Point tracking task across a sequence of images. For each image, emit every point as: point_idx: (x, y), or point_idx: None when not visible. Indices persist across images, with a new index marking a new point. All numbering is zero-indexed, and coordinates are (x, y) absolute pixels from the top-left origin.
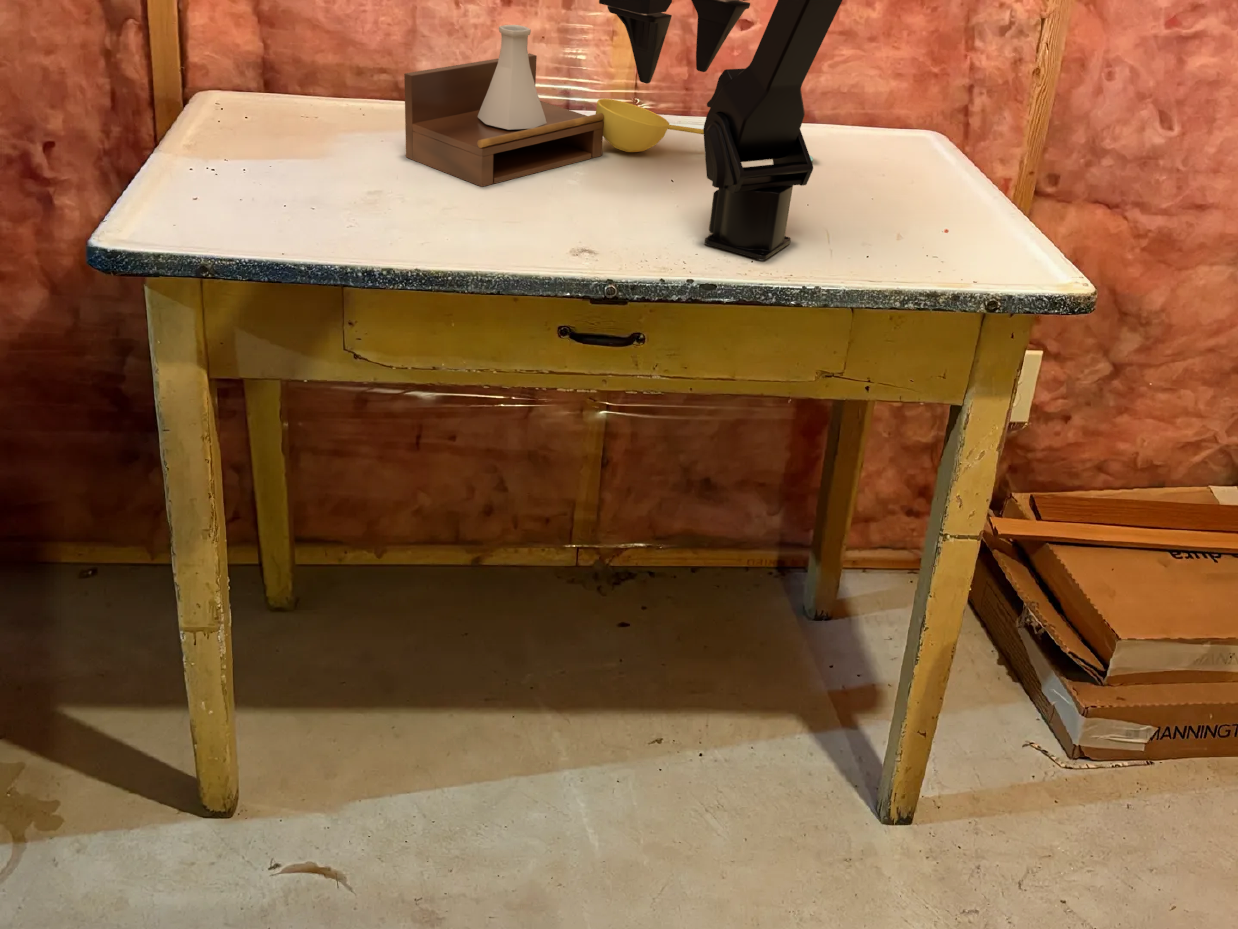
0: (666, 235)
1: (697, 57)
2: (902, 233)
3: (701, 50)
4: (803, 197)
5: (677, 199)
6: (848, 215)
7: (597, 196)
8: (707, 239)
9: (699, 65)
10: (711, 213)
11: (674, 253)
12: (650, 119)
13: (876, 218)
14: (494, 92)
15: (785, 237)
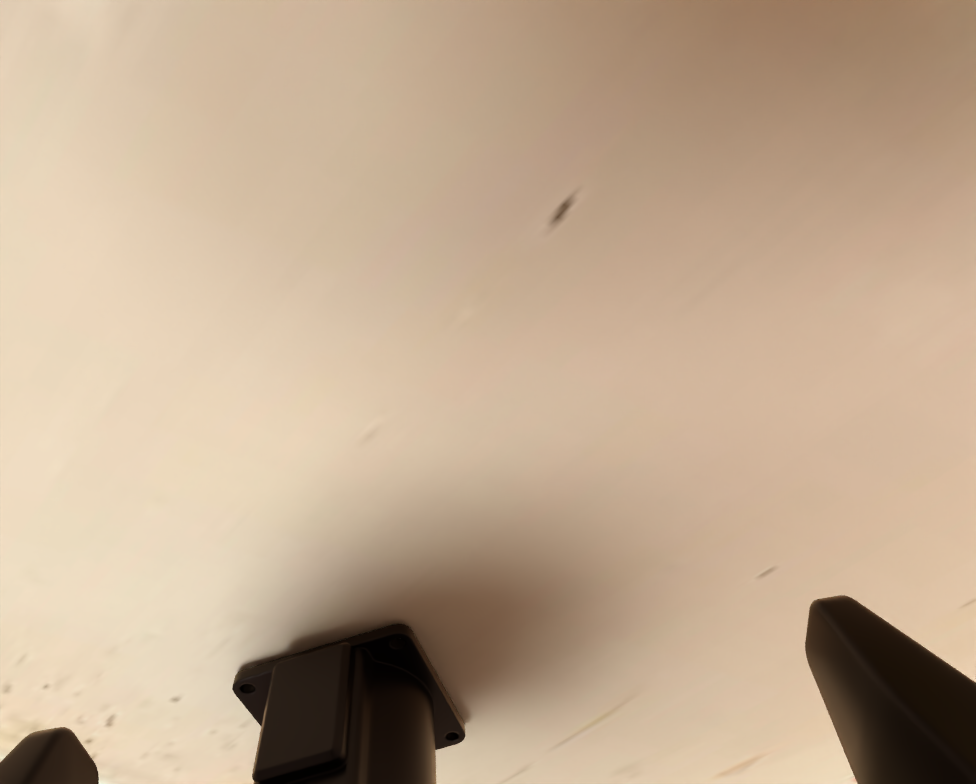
0: (170, 592)
1: (868, 684)
2: (771, 757)
3: (908, 778)
4: (823, 526)
5: (422, 383)
6: (783, 655)
7: (116, 222)
8: (238, 687)
9: (830, 650)
10: (264, 713)
11: (117, 679)
12: None
13: None
14: None
15: (457, 731)
